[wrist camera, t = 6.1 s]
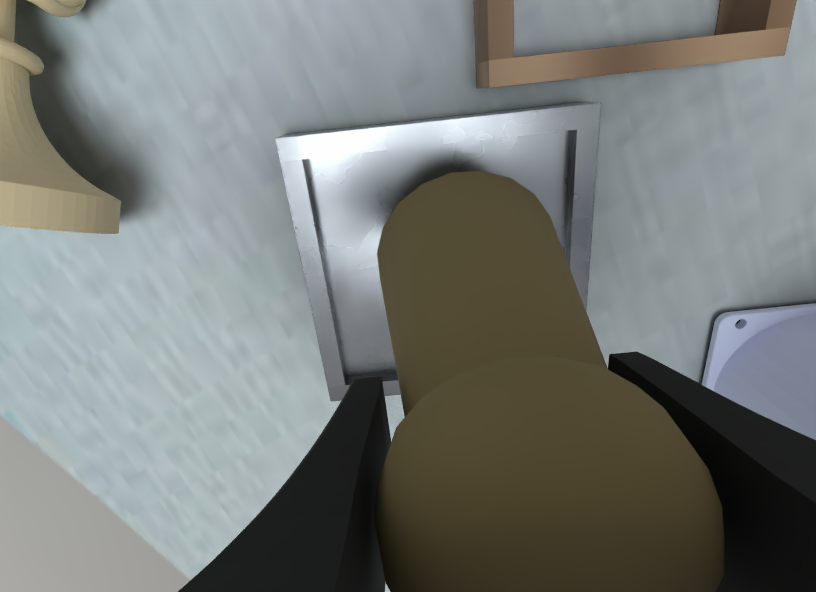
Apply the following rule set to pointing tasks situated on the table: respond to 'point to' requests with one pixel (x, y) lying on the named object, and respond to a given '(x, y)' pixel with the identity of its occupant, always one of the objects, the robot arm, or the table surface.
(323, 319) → the grey square tray
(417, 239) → the olive peg figure
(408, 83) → the table surface
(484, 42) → the walnut stand
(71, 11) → the door knob
